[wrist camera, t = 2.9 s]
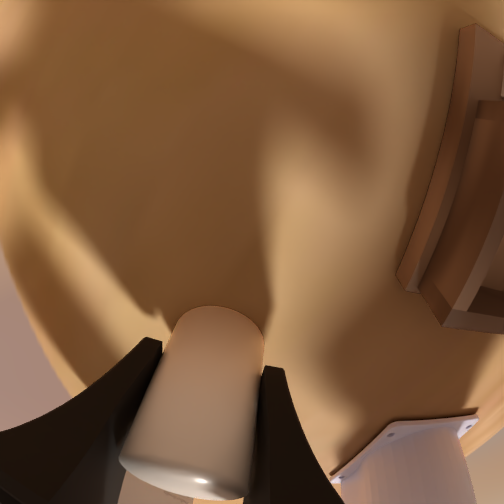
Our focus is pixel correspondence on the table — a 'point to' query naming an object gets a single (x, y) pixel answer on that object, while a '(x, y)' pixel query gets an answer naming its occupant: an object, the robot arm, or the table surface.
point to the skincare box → (147, 493)
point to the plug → (200, 408)
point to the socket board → (465, 199)
